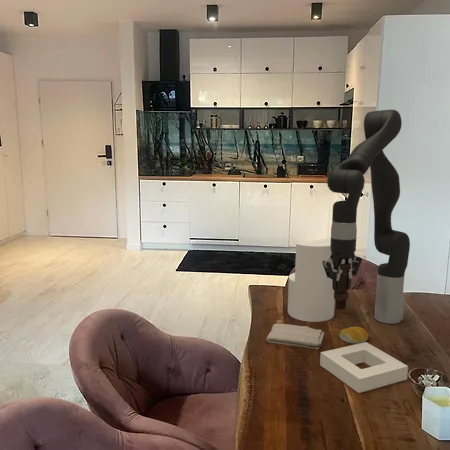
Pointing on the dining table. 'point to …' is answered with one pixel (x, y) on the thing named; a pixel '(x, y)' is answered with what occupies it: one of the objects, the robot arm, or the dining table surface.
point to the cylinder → (311, 283)
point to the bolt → (342, 288)
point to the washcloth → (295, 336)
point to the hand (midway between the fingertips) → (341, 290)
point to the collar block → (369, 377)
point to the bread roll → (354, 335)
